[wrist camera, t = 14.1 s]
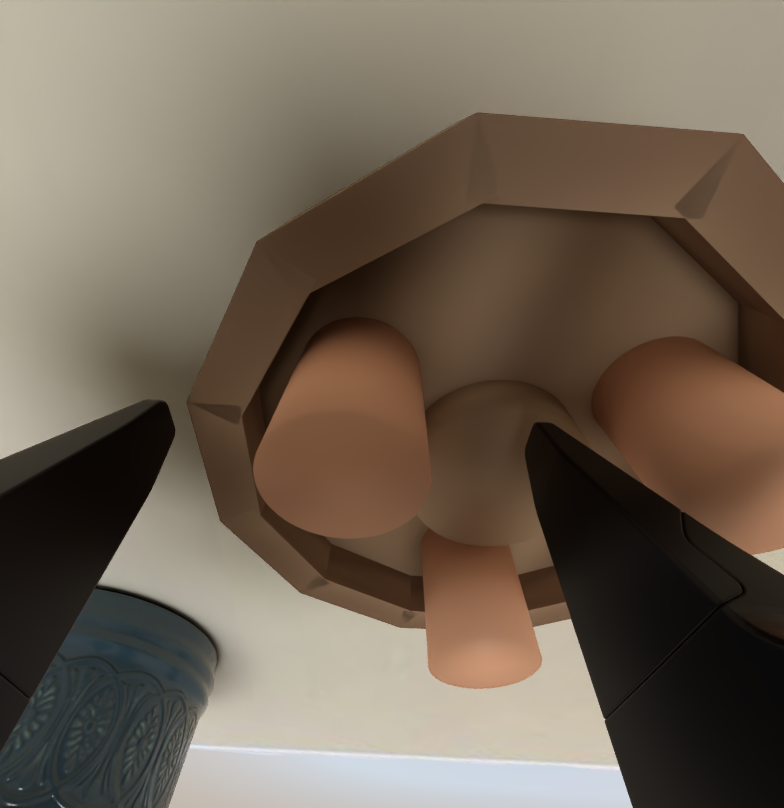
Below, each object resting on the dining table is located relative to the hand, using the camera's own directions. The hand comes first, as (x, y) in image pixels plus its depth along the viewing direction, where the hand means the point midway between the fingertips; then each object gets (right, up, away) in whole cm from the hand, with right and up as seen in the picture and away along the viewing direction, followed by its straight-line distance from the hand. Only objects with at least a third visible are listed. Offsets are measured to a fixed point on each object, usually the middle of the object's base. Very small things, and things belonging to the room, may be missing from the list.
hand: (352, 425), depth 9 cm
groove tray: (+4, -1, +4) cm, 6 cm away
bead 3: (+9, +1, +2) cm, 9 cm away
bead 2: (+4, -5, +7) cm, 9 cm away
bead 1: (0, +1, +2) cm, 3 cm away
